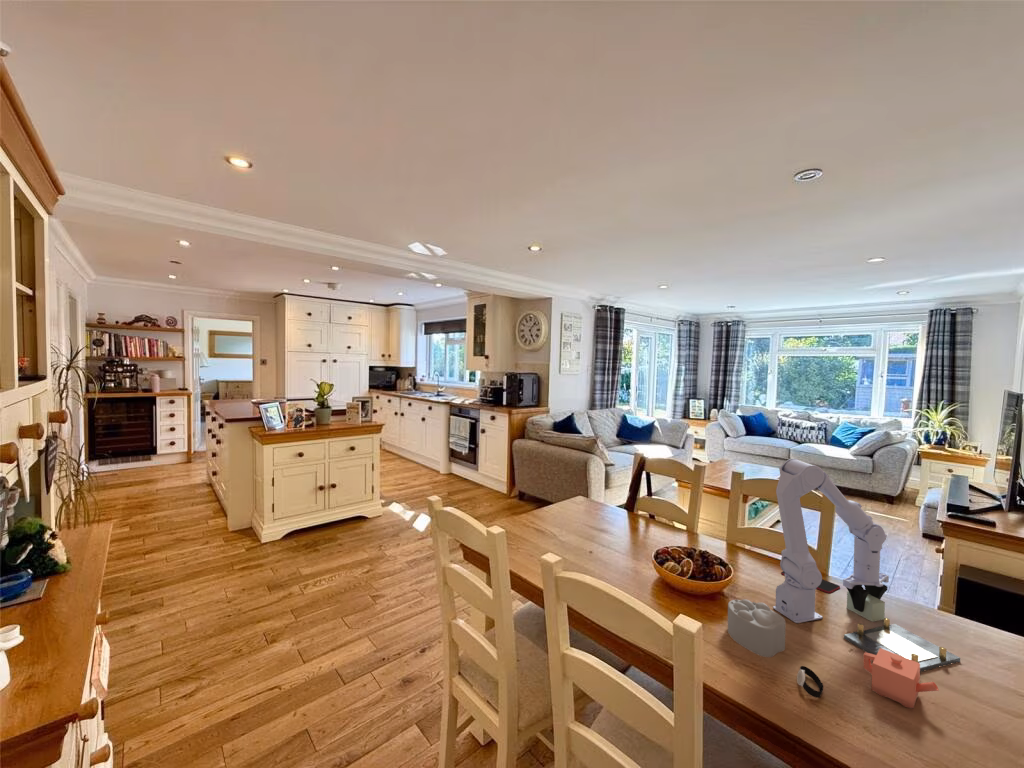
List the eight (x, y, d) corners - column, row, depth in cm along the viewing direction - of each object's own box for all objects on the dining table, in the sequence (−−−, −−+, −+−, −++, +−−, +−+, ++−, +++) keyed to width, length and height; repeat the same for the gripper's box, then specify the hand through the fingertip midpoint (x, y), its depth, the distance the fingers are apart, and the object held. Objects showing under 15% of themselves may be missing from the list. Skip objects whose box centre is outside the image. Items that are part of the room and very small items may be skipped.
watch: (793, 673, 99) (793, 657, 99) (817, 678, 97) (817, 663, 97) (801, 696, 92) (802, 680, 92) (827, 703, 90) (828, 686, 90)
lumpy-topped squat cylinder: (765, 660, 103) (766, 625, 103) (717, 631, 115) (718, 599, 114) (790, 647, 108) (791, 613, 108) (742, 620, 120) (742, 590, 119)
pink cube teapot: (935, 723, 85) (936, 683, 84) (859, 689, 94) (860, 652, 94) (940, 703, 90) (941, 665, 89) (867, 672, 99) (868, 638, 99)
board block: (872, 621, 118) (872, 604, 118) (846, 608, 125) (847, 591, 125) (884, 619, 119) (884, 602, 119) (858, 605, 126) (858, 589, 126)
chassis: (904, 675, 98) (905, 661, 98) (843, 638, 111) (844, 625, 111) (960, 661, 102) (960, 647, 102) (894, 627, 116) (895, 614, 116)
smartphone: (791, 567, 149) (841, 586, 136) (791, 569, 149) (841, 589, 136) (779, 572, 146) (829, 592, 133) (779, 575, 146) (829, 595, 133)
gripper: (861, 572, 116) (860, 620, 116) (901, 565, 120) (899, 612, 120) (836, 560, 123) (835, 606, 123) (874, 554, 126) (872, 599, 127)
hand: (865, 608), depth 122 cm, fingers closed on board block, 4 cm apart
